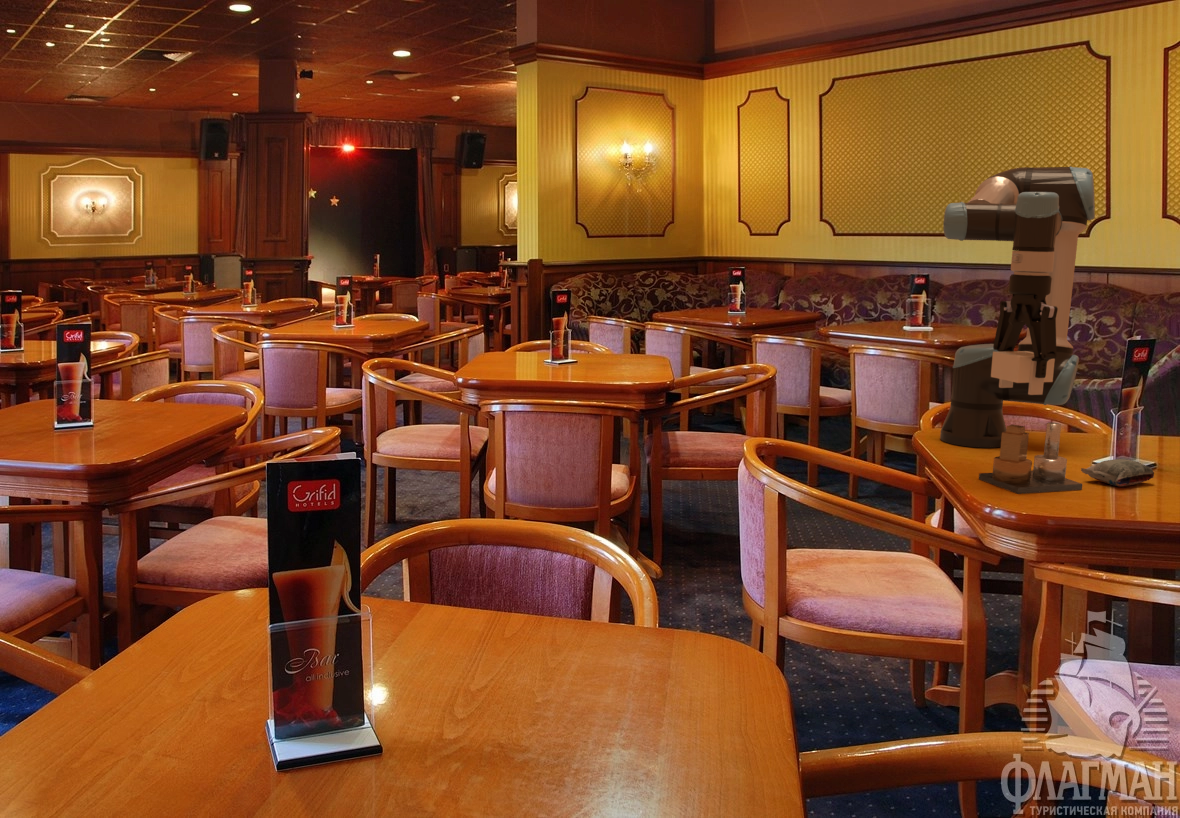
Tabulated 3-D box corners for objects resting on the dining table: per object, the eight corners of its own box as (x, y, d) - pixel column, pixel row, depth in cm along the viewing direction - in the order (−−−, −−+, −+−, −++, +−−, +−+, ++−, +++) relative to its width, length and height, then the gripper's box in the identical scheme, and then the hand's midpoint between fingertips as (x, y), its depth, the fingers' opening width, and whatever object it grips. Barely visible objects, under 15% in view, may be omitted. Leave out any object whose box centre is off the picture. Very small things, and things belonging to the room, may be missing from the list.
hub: (986, 479, 215) (991, 425, 213) (1001, 473, 220) (1005, 421, 218) (1021, 485, 210) (1026, 431, 208) (1035, 479, 215) (1040, 426, 213)
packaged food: (1079, 481, 220) (1082, 457, 219) (1117, 476, 226) (1120, 453, 225) (1118, 491, 213) (1121, 467, 212) (1155, 486, 218) (1159, 462, 218)
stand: (1036, 472, 221) (1041, 419, 219) (1067, 476, 218) (1072, 423, 216) (1029, 478, 216) (1035, 424, 215) (1062, 482, 213) (1067, 427, 211)
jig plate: (1040, 475, 224) (1041, 469, 224) (1082, 489, 213) (1082, 483, 213) (978, 479, 220) (979, 473, 220) (1017, 493, 209) (1018, 487, 208)
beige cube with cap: (990, 376, 214) (992, 351, 213) (1024, 375, 216) (1027, 351, 215) (1017, 382, 206) (1019, 356, 205) (1052, 381, 209) (1054, 356, 208)
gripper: (980, 270, 216) (970, 383, 220) (1052, 276, 197) (1040, 400, 201) (1011, 271, 219) (1001, 382, 223) (1086, 277, 199) (1073, 399, 203)
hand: (1020, 390), depth 212 cm, fingers closed on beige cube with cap, 8 cm apart
